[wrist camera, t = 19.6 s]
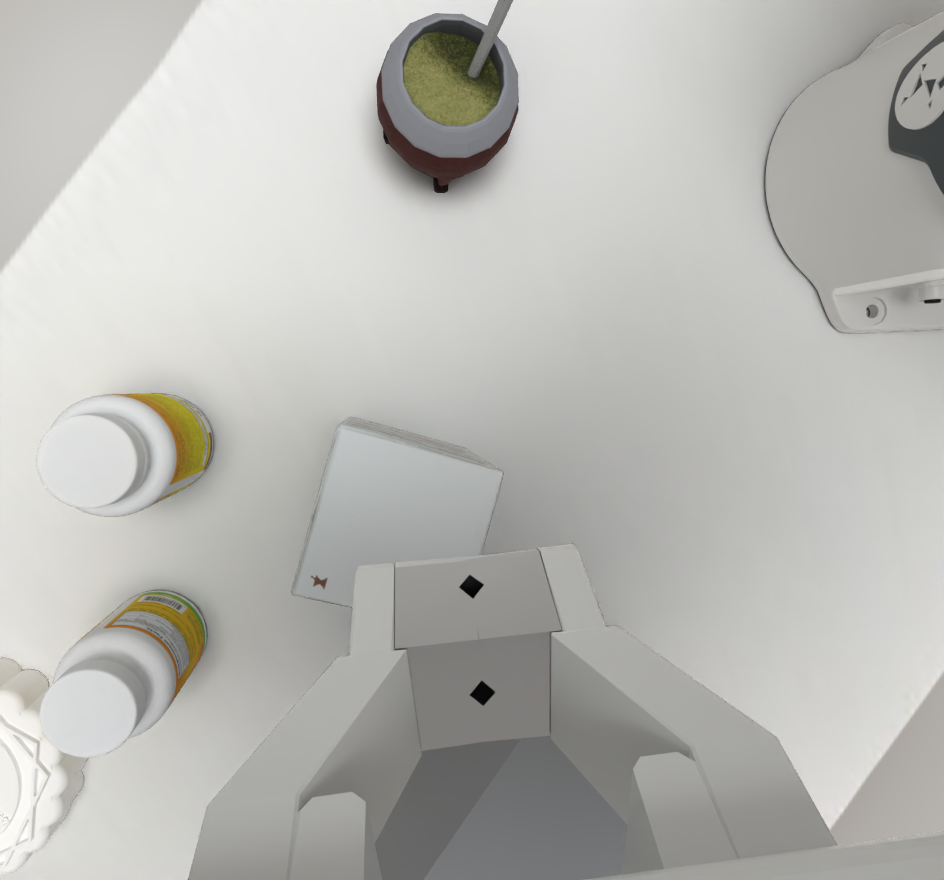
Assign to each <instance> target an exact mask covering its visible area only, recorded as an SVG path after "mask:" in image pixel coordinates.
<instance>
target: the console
mask: <svg viewBox="0 0 944 880" xmlns="http://www.w3.org/2000/svg"><path fill="white" fill-rule="evenodd" d="M626 829H627V824H626V823H625V822H624V821H623V819H622V818H621V817H620V816H619V815H618V814H617V813H616V812H615V810H614V809H613V808H612V807H611V806H610V805H609V804H608V803H607V801H606V800H605V799H604V798H603V797H602V796H601V795H600V794H599V792H598V791H597V790H596V789H595V788H594V787H593V786H592V785H591V784H590V782H589V781H588V780H587V779H586V778H585V777H584V776H583V775H582V773H581V772H580V771H579V770H578V769H577V768H576V767H575V766H574V764H573V763H572V762H571V761H570V760H569V759H568V758H567V757H566V755H565V754H564V753H563V752H562V751H561V750H560V749H559V748H558V746H557V745H556V744H555V743H554V742H553V741H552V740H551V736H541V737H530V738H519V739H508V740H497V741H487V742H479V743H473V744H466V745H459V746H452V747H446V748H439V749H432V750H426V751H421V757H420V759H419V761H418V763H417V765H416V767H415V769H414V770H413V772H412V774H411V776H410V778H409V780H408V782H407V784H406V786H405V787H404V789H403V791H402V793H401V795H400V797H399V799H398V801H397V803H396V804H395V806H394V808H393V810H392V812H391V814H390V816H389V818H388V820H387V821H386V823H385V825H384V827H383V829H382V831H381V833H380V835H379V837H378V838H377V840H376V842H375V847H376V852H377V857H378V861H379V866H380V871H381V875H382V880H585V879H592V878H600V877H607V876H615V875H622V867H623V857H624V848H625V838H626Z"/></svg>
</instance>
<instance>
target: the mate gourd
mask: <svg viewBox="0 0 944 880" xmlns="http://www.w3.org/2000/svg"><path fill="white" fill-rule="evenodd" d="M512 2H513V0H498V3H497V5H496V7H495V9H494V12H493V14H492V16H491V19H490V21H489V23H488V26H486V25H484V24H482V23H480V22H478V21H475V20H473V19H471V18H469V17H467V16H465V15H463V14H439V13H435V14H432V15H430V16H427V17H425V18H422V19H420V20H418V21H415V22H413V23H410V24H409V25H408V26H407V27H406V28H405V29H404V31H403V32H402V33H401V34H400V35H399V36H398V37H397V38H396V39H395V40H394V41H393V42H392V43H391V45H390V48H389V50H388V51H387V54H386V57H385V60H384V62H383V65H382V68H381V71H380V73H379V76H378V80H377V107H378V117H379V121H380V123H381V125H382V127H383V134H384V139H385V142H386V144H390V145H391V147H392V148H393V149H394V150H395V151H396V152H397V153H398V154H399V155H400V156H402V157H403V158H404V159H405V160H406V161H407V162H408V163H409V164H410V165H411V166H412V167H413V168H415V169H417V170H419V171H421V172H423V173H426V174H428V175H430V176H432V177H433V183H434V191H435V192H437V193H445V192H447V191H448V183H449V182H450V181H451V180H452V179H455V178H459V177H462V176H464V175H466V174H468V173H470V172H472V171H474V170H477V169H479V168H481V167H483V166H485V165H486V164H487V163H488V162H489V161H490V160H491V159H492V158H493V157H494V156H495V155H496V154H497V153H498V152H499V151H500V150H501V148H502V147H503V146H504V145H505V144H506V143H507V141H508V138H509V135H510V133H511V130H512V127H513V125H514V122H515V119H516V116H517V113H518V102H519V97H518V73H517V70H516V68H515V66H514V63H513V61H512V58H511V56H510V54H509V51H508V49H507V46H506V45H505V44H504V43H503V42H502V41H501V40H500V39H499V38H498V37H497V34H498V32H499V30H500V28H501V26H502V23H503V21H504V19H505V17H506V15H507V12H508V10H509V8H510V6H511V4H512Z"/></svg>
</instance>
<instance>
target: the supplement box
mask: <svg viewBox="0 0 944 880" xmlns="http://www.w3.org/2000/svg"><path fill="white" fill-rule="evenodd" d="M502 478H503V472H502V471H501V470H499V469H498V468H496V467H494V466H493V465H491V464H489V463H488V462H486V461H484V460H482V459H481V458H479V457H478V456H476V455H475V454H473V453H471V452H470V451H469V450H467V449H466V448H463V447H459V446H456V445H452V444H448V443H445V442H441V441H438V440H434V439H431V438H427V437H424V436H420V435H416V434H413V433H409V432H406V431H402V430H399V429H395V428H391V427H387V426H384V425H380V424H376V423H372V422H368V421H365V420H361V419H357V418H353V417H349V418H348V419H347V420H345V421H344V422H343V423H341V424H340V425H339V426H338V427H337V429H336V432H335V436H334V439H333V443H332V447H331V450H330V453H329V457H328V460H327V464H326V467H325V471H324V474H323V478H322V481H321V485H320V489H319V492H318V496H317V499H316V503H315V507H314V510H313V514H312V517H311V521H310V525H309V529H308V532H307V536H306V540H305V543H304V547H303V551H302V554H301V558H300V562H299V565H298V569H297V572H296V576H295V579H294V583H293V586H292V590H291V594H292V595H294V596H299V597H304V598H308V599H313V600H318V601H323V602H327V603H332V604H336V605H341V606H346V607H350V608H353V597H354V585H355V573H356V571H357V569H358V567H359V566H364V565H375V564H387V563H394V564H396V562H405V561H417V560H429V559H442V558H454V557H466V556H467V557H469V556H478V555H481V554H482V550H483V547H484V543H485V539H486V536H487V532H488V529H489V525H490V522H491V518H492V515H493V511H494V508H495V504H496V501H497V497H498V493H499V489H500V485H501V482H502Z"/></svg>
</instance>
